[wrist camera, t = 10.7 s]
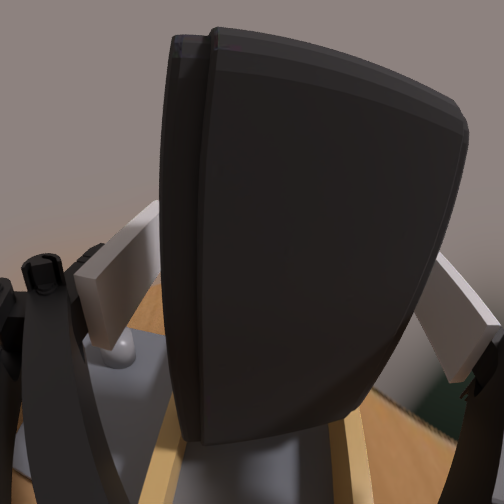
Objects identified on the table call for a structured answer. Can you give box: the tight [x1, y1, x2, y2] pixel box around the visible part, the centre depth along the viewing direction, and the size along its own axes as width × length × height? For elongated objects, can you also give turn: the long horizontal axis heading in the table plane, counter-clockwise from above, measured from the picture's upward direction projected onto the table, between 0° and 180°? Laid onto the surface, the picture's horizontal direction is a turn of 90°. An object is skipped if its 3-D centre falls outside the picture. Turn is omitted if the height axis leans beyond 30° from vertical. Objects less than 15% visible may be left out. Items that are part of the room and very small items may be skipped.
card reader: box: [159, 27, 469, 446], centre depth 10 cm, size 9×4×15 cm, turn 105°
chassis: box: [12, 326, 374, 504], centre depth 14 cm, size 20×14×4 cm
